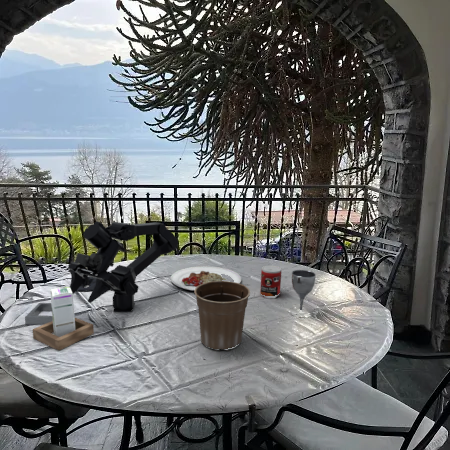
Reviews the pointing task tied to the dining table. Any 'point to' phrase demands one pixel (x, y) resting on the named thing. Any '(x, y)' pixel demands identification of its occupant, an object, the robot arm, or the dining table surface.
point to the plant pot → (221, 313)
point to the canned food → (270, 280)
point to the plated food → (201, 276)
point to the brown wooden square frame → (64, 341)
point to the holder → (35, 319)
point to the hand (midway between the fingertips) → (78, 298)
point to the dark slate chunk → (89, 281)
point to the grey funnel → (303, 283)
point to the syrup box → (62, 311)
